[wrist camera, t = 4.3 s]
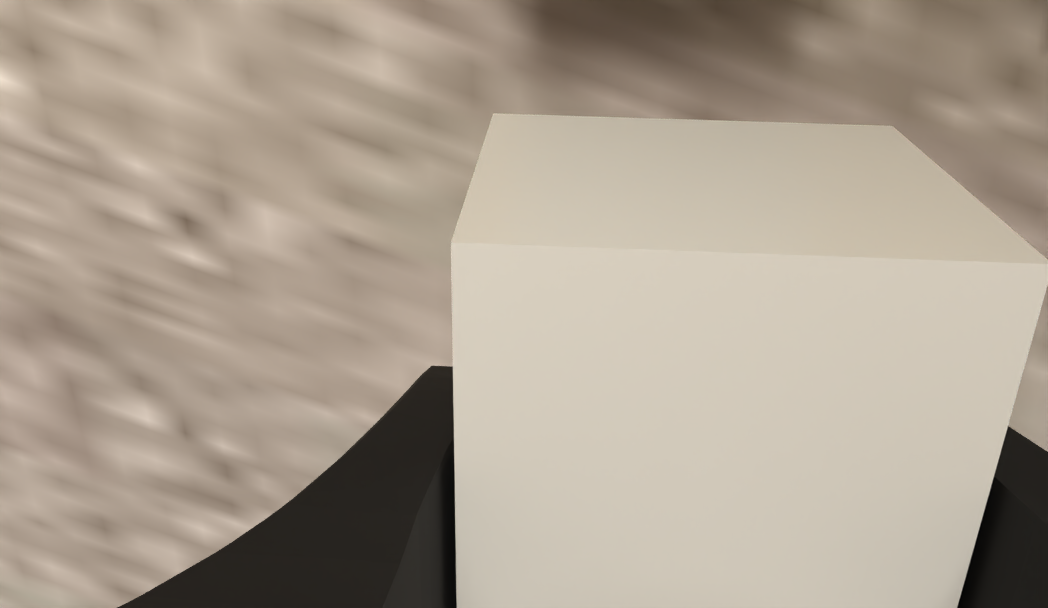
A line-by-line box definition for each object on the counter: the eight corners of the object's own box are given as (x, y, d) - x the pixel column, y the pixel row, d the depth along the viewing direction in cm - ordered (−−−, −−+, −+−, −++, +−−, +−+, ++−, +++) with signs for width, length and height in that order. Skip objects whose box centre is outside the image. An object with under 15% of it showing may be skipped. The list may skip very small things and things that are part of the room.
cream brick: (802, 603, 14) (883, 871, 10) (490, 588, 14) (460, 847, 10) (892, 126, 11) (1054, 263, 7) (493, 113, 11) (451, 242, 7)
